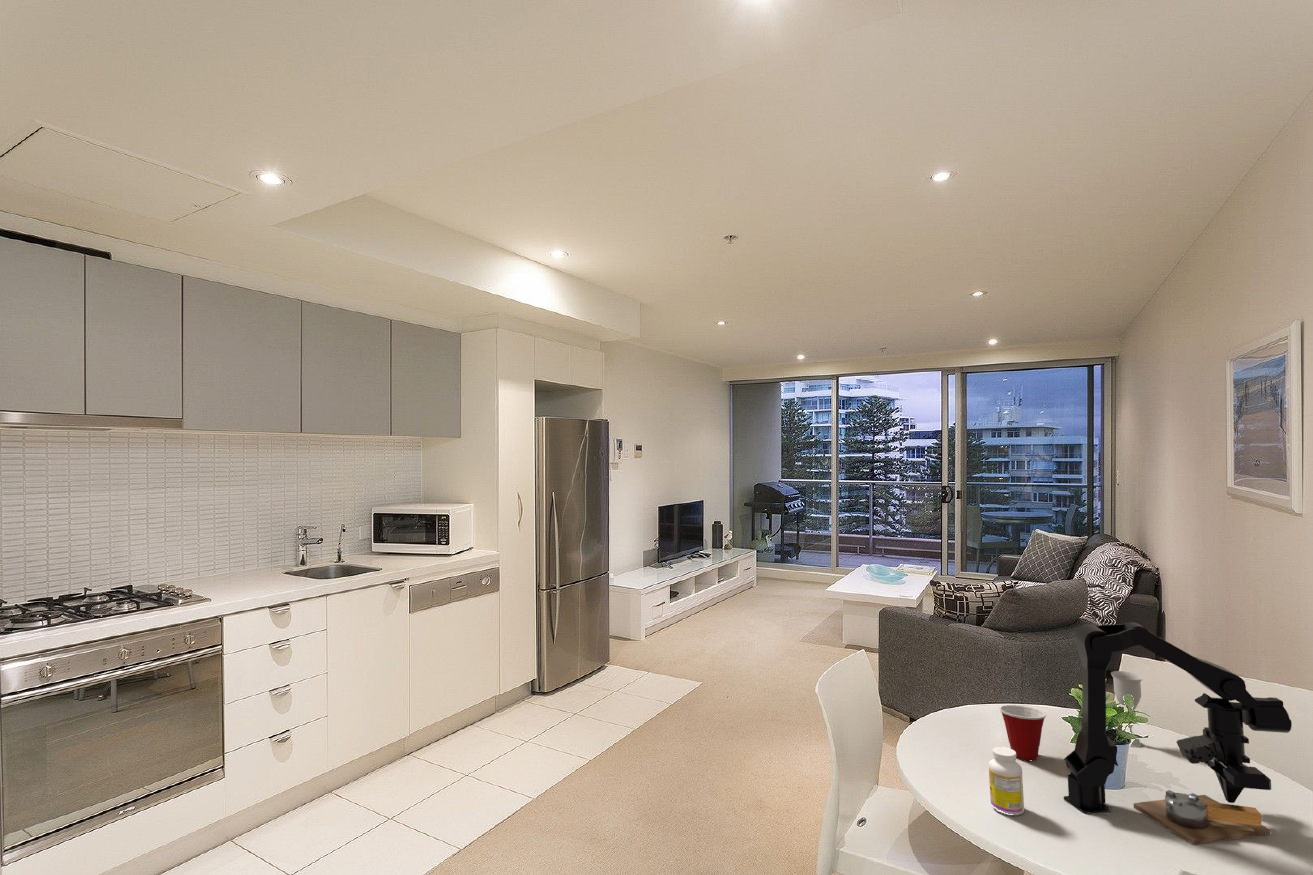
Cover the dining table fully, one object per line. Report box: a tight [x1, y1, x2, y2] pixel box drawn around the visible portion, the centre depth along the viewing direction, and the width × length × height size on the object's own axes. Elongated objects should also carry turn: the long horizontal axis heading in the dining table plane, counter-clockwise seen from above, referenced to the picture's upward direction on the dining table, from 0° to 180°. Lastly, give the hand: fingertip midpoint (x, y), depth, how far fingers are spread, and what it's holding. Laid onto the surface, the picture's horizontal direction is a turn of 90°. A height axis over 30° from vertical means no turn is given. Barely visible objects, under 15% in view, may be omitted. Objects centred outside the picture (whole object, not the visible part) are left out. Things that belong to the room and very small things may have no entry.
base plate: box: [1133, 794, 1272, 845], centre depth 140 cm, size 18×14×1 cm
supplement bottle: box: [988, 746, 1025, 816], centre depth 147 cm, size 7×7×13 cm
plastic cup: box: [999, 704, 1047, 762], centre depth 171 cm, size 11×11×12 cm
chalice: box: [1110, 670, 1143, 748], centre depth 177 cm, size 7×7×18 cm
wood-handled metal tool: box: [1164, 789, 1262, 828], centre depth 137 cm, size 16×7×4 cm, turn 68°
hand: (1230, 802), depth 140 cm, fingers closed
